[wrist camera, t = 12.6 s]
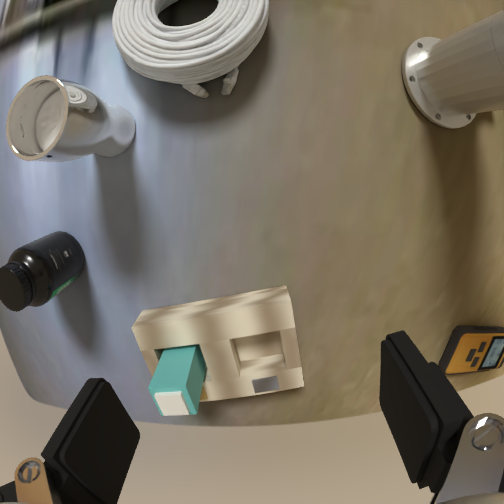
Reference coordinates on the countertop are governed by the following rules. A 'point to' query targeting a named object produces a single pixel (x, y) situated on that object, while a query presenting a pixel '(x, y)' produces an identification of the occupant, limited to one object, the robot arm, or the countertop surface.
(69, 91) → the beer glass
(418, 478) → the robot arm
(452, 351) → the electronic device
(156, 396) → the plug
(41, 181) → the countertop surface
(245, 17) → the cable
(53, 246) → the supplement bottle
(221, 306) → the socket block
